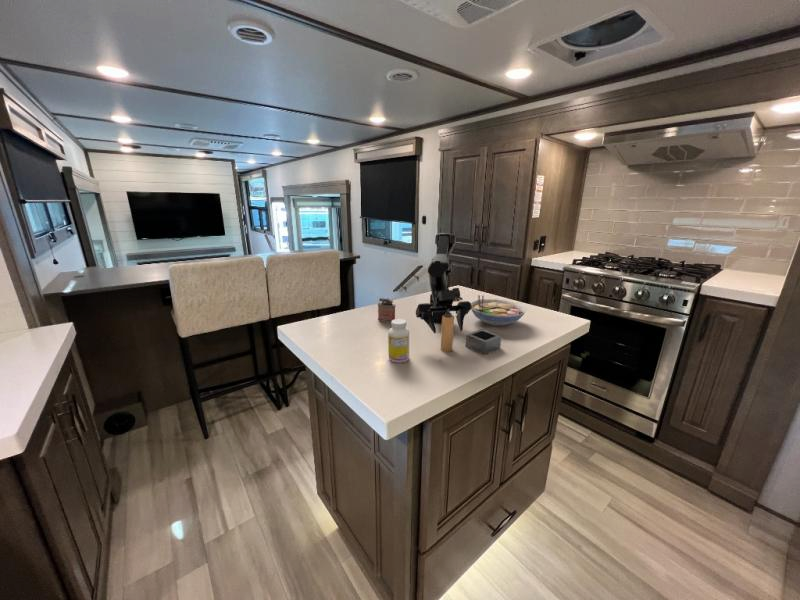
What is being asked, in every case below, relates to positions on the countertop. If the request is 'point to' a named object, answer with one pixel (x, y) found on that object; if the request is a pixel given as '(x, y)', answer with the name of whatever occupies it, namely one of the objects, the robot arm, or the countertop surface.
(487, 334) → the grey square open block
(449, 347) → the plug
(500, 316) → the ramen bowl
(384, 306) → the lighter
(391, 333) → the supplement bottle
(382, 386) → the countertop surface
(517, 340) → the countertop surface
